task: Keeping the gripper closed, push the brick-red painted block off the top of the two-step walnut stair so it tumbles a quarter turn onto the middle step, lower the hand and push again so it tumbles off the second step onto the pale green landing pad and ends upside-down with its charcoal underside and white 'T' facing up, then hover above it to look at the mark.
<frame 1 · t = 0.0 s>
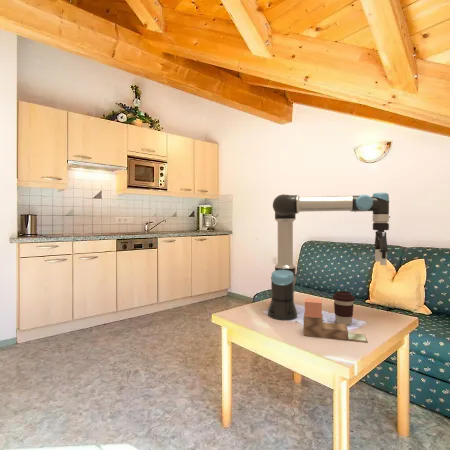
hand: (380, 263, 154), 28 cm above the table, fingers open, 13 cm apart
block: (313, 315, 131), point 8 cm above the table, touching stair
stair: (304, 332, 133), on the table
coffee cup: (343, 323, 144), on the table
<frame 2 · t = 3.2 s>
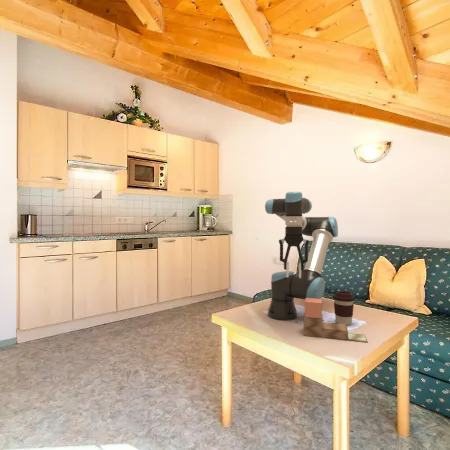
hand: (293, 277, 134), 25 cm above the table, fingers open, 5 cm apart
nothing on the table moved.
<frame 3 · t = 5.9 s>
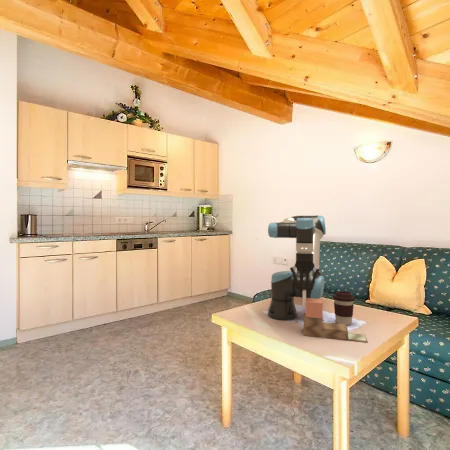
hand: (304, 304, 132), 13 cm above the table, fingers closed
block: (314, 316, 131), point 8 cm above the table, touching gripper, stair
everything else where it was.
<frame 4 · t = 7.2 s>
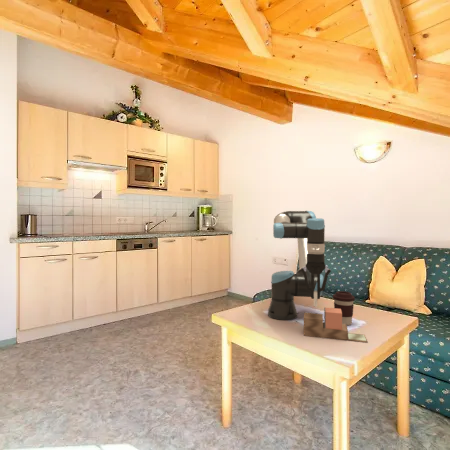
hand: (315, 305, 131), 12 cm above the table, fingers closed
block: (324, 317, 130), point 8 cm above the table, tilted 90°, touching stair
everything else where it was.
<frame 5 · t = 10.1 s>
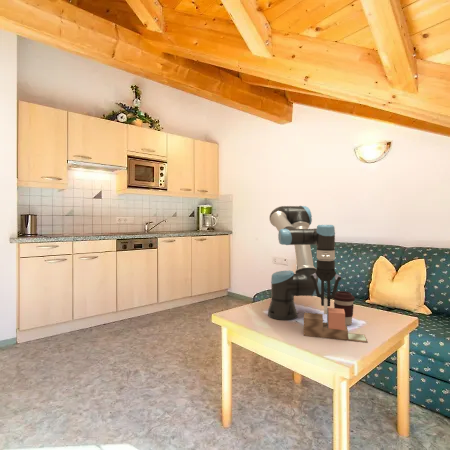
hand: (325, 313, 129), 10 cm above the table, fingers closed
block: (327, 317, 129), point 8 cm above the table, tilted 90°, touching gripper
everything else where it was.
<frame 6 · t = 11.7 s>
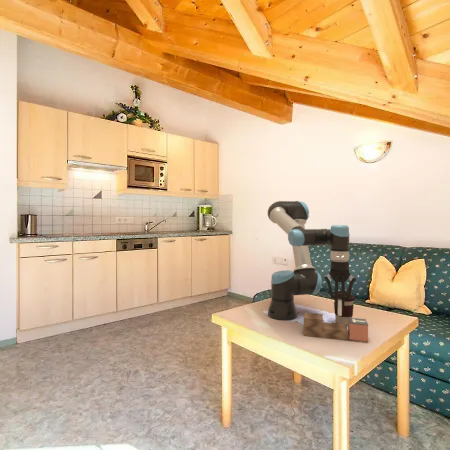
hand: (339, 314, 128), 9 cm above the table, fingers closed
block: (357, 320, 126), point 7 cm above the table, tilted 180°, touching stair
everything else where it was.
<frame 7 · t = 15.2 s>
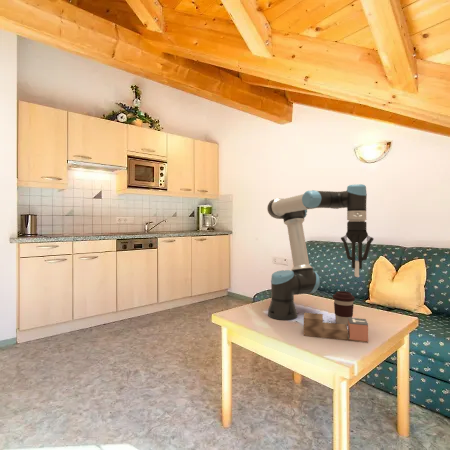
hand: (356, 276, 125), 27 cm above the table, fingers closed
nothing on the table moved.
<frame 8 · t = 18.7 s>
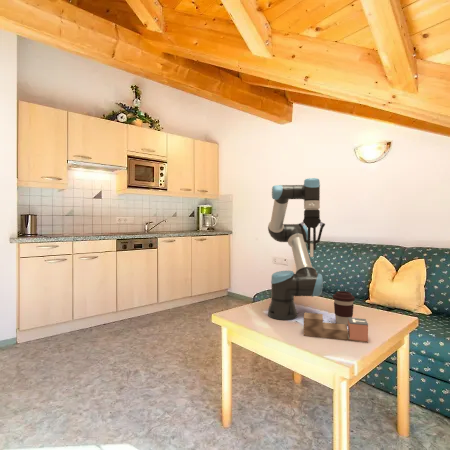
hand: (311, 256, 147), 32 cm above the table, fingers closed
nothing on the table moved.
at the end: block tilted 180°; block inside the target area (0.9 cm from its centre), point 7.5 cm above the table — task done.
